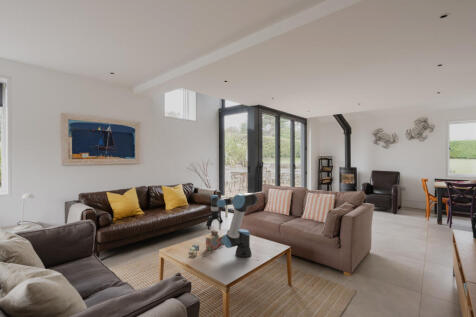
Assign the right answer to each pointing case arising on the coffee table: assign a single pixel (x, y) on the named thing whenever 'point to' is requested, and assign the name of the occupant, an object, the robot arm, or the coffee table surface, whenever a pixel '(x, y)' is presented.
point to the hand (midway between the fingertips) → (214, 231)
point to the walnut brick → (214, 233)
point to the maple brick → (193, 253)
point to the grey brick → (196, 246)
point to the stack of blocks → (214, 241)
